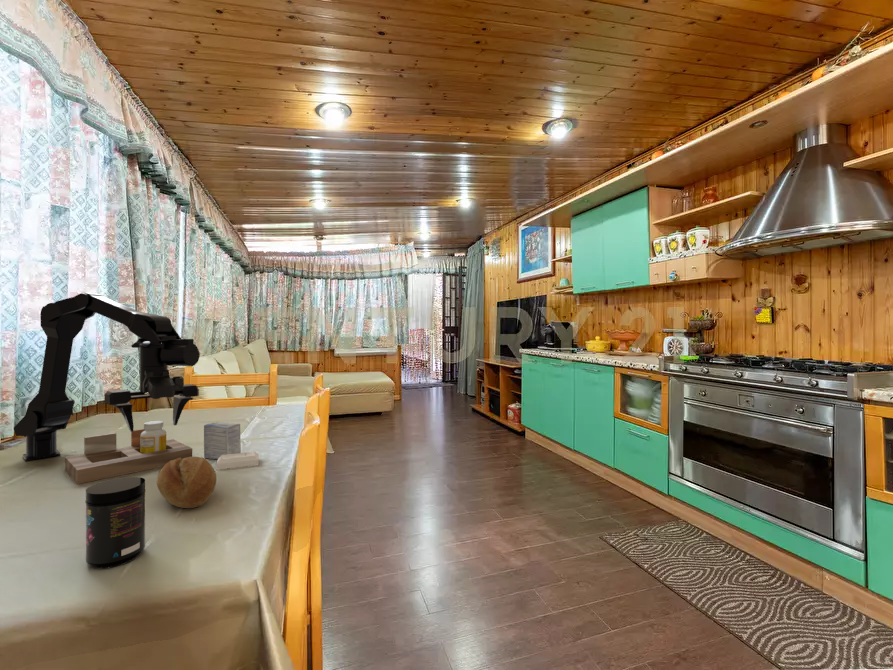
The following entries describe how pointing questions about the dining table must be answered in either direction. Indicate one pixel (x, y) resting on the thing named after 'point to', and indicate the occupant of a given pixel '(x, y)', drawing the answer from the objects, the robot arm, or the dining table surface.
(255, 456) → the soap bar
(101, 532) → the supplement container
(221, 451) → the medicine box
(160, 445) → the supplement bottle
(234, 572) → the dining table surface
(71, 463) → the socket board
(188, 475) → the bread roll
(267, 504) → the dining table surface
